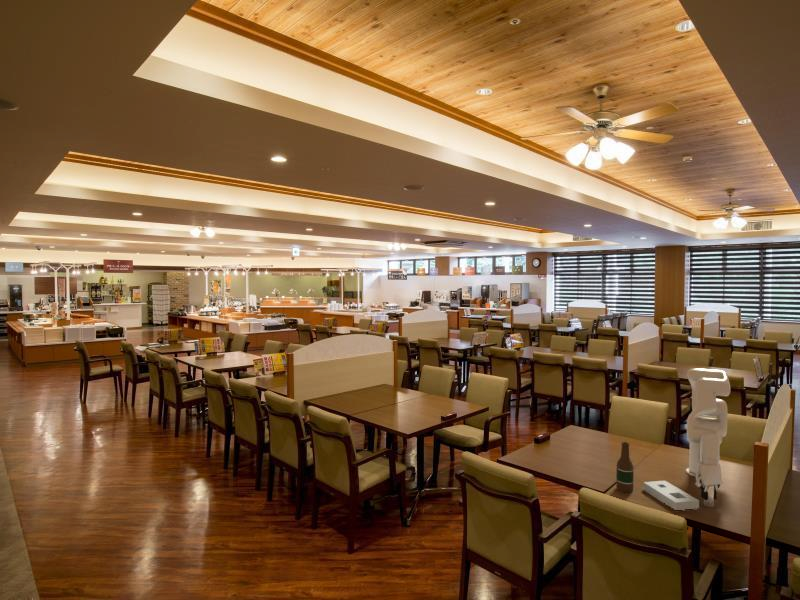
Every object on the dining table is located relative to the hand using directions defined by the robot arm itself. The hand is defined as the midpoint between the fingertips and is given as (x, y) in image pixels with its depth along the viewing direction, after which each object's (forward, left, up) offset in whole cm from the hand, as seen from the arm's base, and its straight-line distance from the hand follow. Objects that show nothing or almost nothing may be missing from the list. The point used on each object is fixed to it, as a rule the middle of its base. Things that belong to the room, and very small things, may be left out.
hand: (708, 498), depth 218 cm
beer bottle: (+28, -22, -4) cm, 36 cm away
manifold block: (+13, -9, -3) cm, 16 cm away
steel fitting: (0, 0, -3) cm, 3 cm away
